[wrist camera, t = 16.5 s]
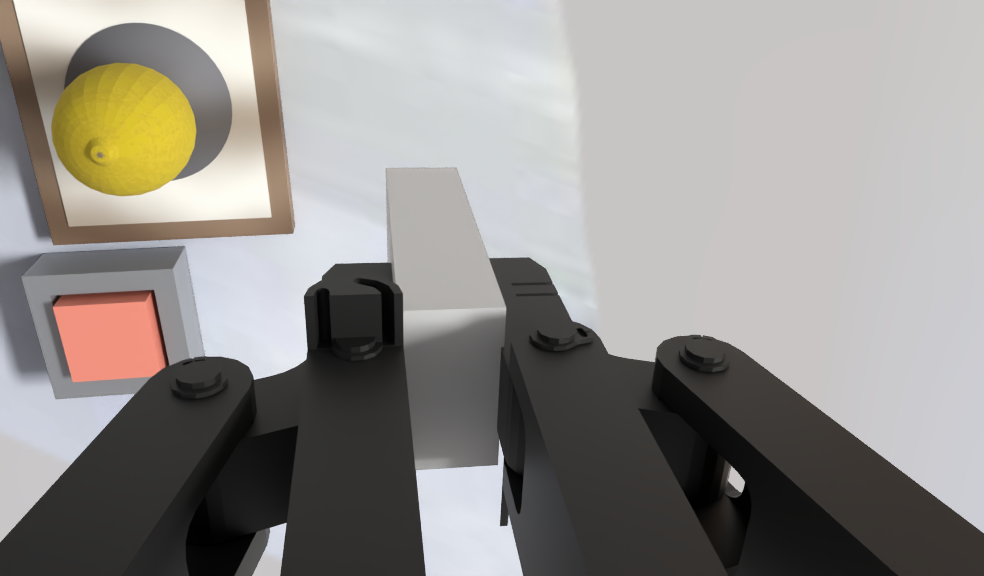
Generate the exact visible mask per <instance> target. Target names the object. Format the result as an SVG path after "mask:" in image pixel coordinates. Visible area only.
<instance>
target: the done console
mask: <svg viewBox="0 0 984 576" xmlns="http://www.w3.org/2000/svg"><path fill="white" fill-rule="evenodd" d="M21 279H22V282H23V286H24V289H25V293H26V296H27V300H28V303H29V307H30V311H31V314H32V318H33V321H34V325H35V328H36V332H37V335H38V339H39V342H40V346H41V349H42V353H43V357H44V360H45V364H46V367H47V371H48V374H49V378H50V381H51V385H52V388H53V392H54V395H55V399H67V398H80V397H94V396H108V395H122V394H135V393H137V392H138V391H139V390H140V388H141V387H142V386H143V385H144V384H145V383H146V382H147V381H148V380H149V379H150V378H151V377H141V378H127V379H113V380H98V381H84V382H73V381H72V377H71V373H70V370H69V366H68V362H67V359H66V355H65V351H64V347H63V344H62V340H61V336H60V332H59V329H58V325H57V321H56V318H55V314H54V310H53V306H54V305H55V303H56V302H57V301H58V300H59V298H60V297H61V296H62V295H69V294H87V293H105V292H123V291H140V290H154V292H155V296H156V301H157V306H158V311H159V316H160V321H161V326H162V331H163V336H164V341H165V346H166V351H167V356H168V362H167V364H166V366H165V367H168V366H170V365H172V364H175V363H177V362H180V361H182V360H185V359H189V358H192V359H193V358H194V357H201V356H205V354H204V349H203V343H202V338H201V332H200V327H199V321H198V315H197V310H196V304H195V299H194V293H193V288H192V282H191V276H190V271H189V265H188V260H187V254H186V248H185V246H183V247H162V248H142V249H122V250H102V251H82V252H62V253H43V254H42V255H41V256H40V258H39V259H38V260H37V261H36V262H35V263H34V264H33V265H32V266H31V267H30V268H29V269H28V270H27V271H26V272H25V273H24V274H23V275H22V276H21Z"/></svg>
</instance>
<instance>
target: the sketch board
mask: <svg viewBox="0 0 984 576" xmlns="http://www.w3.org/2000/svg"><path fill="white" fill-rule="evenodd" d="M0 40H1V44H2V48H3V52H4V56H5V60H6V64H7V67H8V71H9V75H10V79H11V83H12V87H13V91H14V95H15V99H16V102H17V106H18V110H19V114H20V118H21V122H22V126H23V130H24V133H25V137H26V141H27V145H28V149H29V153H30V157H31V161H32V164H33V168H34V172H35V176H36V180H37V184H38V188H39V192H40V195H41V199H42V203H43V207H44V211H45V215H46V219H47V223H48V226H49V230H50V234H51V238H52V242H53V245H68V244H88V243H109V242H129V241H150V240H171V239H191V238H212V237H232V236H253V235H274V234H293V232H294V227H295V222H294V213H293V204H292V195H291V186H290V177H289V168H288V160H287V151H286V142H285V133H284V124H283V115H282V106H281V97H280V88H279V79H278V71H277V62H276V53H275V44H274V35H273V26H272V17H271V8H270V0H0ZM112 63H132V64H138V65H141V66H145V67H148V68H151V69H154V70H155V71H157V72H159V73H161V74H163V75H164V76H166V77H168V78H169V79H170V80H171V81H172V82H173V83H174V84H176V85H177V86H178V87H179V88H180V90H181V91H182V93H183V94H184V95H185V97H186V98H187V100H188V101H189V104H190V106H191V109H192V111H193V114H194V117H195V124H196V138H195V146H194V149H193V152H192V154H191V156H190V159H189V161H188V163H187V165H186V166H185V167H184V168H183V169H182V171H181V172H180V173H179V174H178V175H177V176H176V178H174V179H173V180H171V181H170V182H168V183H167V184H165V185H164V186H162V187H161V188H159V189H157V190H154V191H151V192H148V193H145V194H142V195H134V196H115V195H108V194H104V193H101V192H99V191H96V190H93V189H90V188H89V187H87V186H86V185H84V184H82V183H81V182H79V181H78V180H76V179H75V178H74V177H73V176H72V175H71V174H70V173H69V172H68V171H67V170H66V168H65V167H64V165H63V164H62V162H61V161H60V159H59V158H58V155H57V153H56V150H55V147H54V144H53V142H52V131H51V123H52V118H53V114H54V109H55V106H56V104H57V102H58V101H59V99H60V97H61V95H62V93H63V91H64V90H65V89H66V87H68V86H69V85H70V84H71V83H72V82H73V81H74V80H75V79H76V78H77V77H78V76H79V75H81V74H83V73H85V72H87V71H89V70H91V69H93V68H95V67H97V66H102V65H107V64H112Z"/></svg>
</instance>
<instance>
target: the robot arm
mask: <svg viewBox="0 0 984 576" xmlns="http://www.w3.org/2000/svg"><path fill="white" fill-rule="evenodd" d="M386 201H387V254H388V263H352V264H335V265H334V266H333V267H332V268H331V269H330V270H328V271H327V272H326V273H325V274H324V275H323V276H322V281H319V282H318V283H316V284H314V285H313V286H311V287H310V288H309V289H308V290H307V292H306V294H305V295H304V304H305V318H306V332H307V346H308V351H307V359H306V360H305V361H304V362H303V363H301V364H300V365H298V366H297V367H295V368H293V369H290V370H288V371H286V372H284V373H280V374H277V375H273V376H270V377H265V378H261V379H256V380H254V379H253V375H252V373H251V371H250V369H249V367H248V366H246V365H245V364H243V363H241V362H239V361H238V360H234V359H229V358H224V357H206V356H201V357H194V358H193V359H192V358H189V359H185V360H182V361H180V362H177V363H175V364H172V365H170V366H168V367H165V368H163V369H161V370H160V371H159V372H157V373H156V374H155V375H154V376H152V377H151V378H150V379H149V380H148V381H147V382H146V383H145V384H144V385H143V386H142V387H141V388H140V390H139V391H138V392H137V393H136V394H135V395H134V396H133V397H132V398H131V399H130V401H129V402H128V403H127V404H126V405H125V406H124V407H123V408H122V409H121V410H120V412H119V413H118V414H117V415H116V416H115V417H114V418H113V419H112V420H111V421H110V423H109V424H108V425H107V426H106V427H105V428H104V429H103V430H102V431H101V432H100V434H99V435H98V436H97V437H96V438H95V439H94V440H93V441H92V442H91V443H90V445H89V446H88V447H87V448H86V449H85V450H84V451H83V452H82V453H81V454H80V455H79V457H78V458H77V459H76V460H75V461H74V462H73V463H72V464H71V465H70V466H69V468H68V469H67V470H66V471H65V472H64V473H63V474H62V475H61V476H60V477H59V479H58V480H57V481H56V482H55V483H54V484H53V485H52V486H51V487H50V488H49V490H48V491H47V492H46V493H45V494H44V495H43V496H42V497H41V498H40V500H39V501H38V502H37V503H36V504H35V505H34V506H33V507H32V508H31V509H30V510H29V512H28V513H27V514H26V515H25V516H24V517H23V518H22V519H21V521H20V522H19V523H18V524H17V525H16V526H15V527H14V528H13V529H12V530H11V531H10V532H9V534H8V535H7V536H6V537H5V538H4V539H3V540H2V541H1V542H0V576H252V575H253V573H254V571H255V568H256V567H257V564H258V562H259V560H260V558H261V556H262V554H263V552H264V550H265V548H266V546H267V543H268V538H269V533H270V528H271V527H274V526H277V525H280V524H284V523H287V525H286V533H285V542H284V550H283V558H282V566H281V575H280V576H426V573H425V563H424V553H423V542H422V532H421V521H420V511H419V501H418V490H417V480H416V470H424V469H440V468H457V467H473V466H489V465H498V451H499V439H500V443H501V447H502V451H503V455H504V467H503V484H502V501H501V518H500V526H507V524H508V515H509V516H510V521H511V525H512V529H513V533H514V538H515V542H516V546H517V550H518V555H519V559H520V563H521V568H522V572H523V576H984V533H982V532H981V531H980V530H978V529H977V528H976V527H974V526H973V525H972V524H971V523H969V522H968V521H967V520H965V519H964V518H962V517H961V516H960V515H959V514H957V513H956V512H955V511H953V510H952V509H951V508H949V507H948V506H947V505H945V504H944V503H943V502H941V501H940V500H938V499H937V498H936V497H935V496H933V495H932V494H931V493H929V492H928V491H927V490H925V489H924V488H923V487H921V486H920V485H919V484H918V483H916V482H915V481H913V480H912V479H911V478H910V477H908V476H907V475H905V474H904V473H903V472H902V471H900V470H899V469H898V468H896V467H895V466H894V465H892V464H891V463H890V462H888V461H887V460H886V459H884V458H883V457H882V456H880V455H879V454H878V453H876V452H875V451H874V450H872V449H871V448H870V447H868V446H867V445H866V444H864V443H863V442H862V441H861V440H859V439H858V438H856V437H855V436H854V435H853V434H851V433H850V432H849V431H847V430H846V429H845V428H843V427H842V426H841V425H839V424H838V423H837V422H835V421H834V420H833V419H831V418H830V417H829V416H827V415H826V414H825V413H823V412H822V411H821V410H819V409H818V408H817V407H815V406H814V405H813V404H811V403H810V402H809V401H807V400H806V399H805V398H803V397H802V396H801V395H800V394H798V393H797V392H795V391H794V390H793V389H792V388H790V387H789V386H788V385H786V384H785V383H784V382H782V381H781V380H780V379H778V378H777V377H775V376H774V375H773V374H771V373H770V372H769V371H768V370H766V369H765V368H764V367H762V366H761V365H760V364H758V363H757V362H756V361H754V360H753V359H752V358H750V357H749V356H748V355H746V354H745V353H744V352H742V351H741V350H739V349H737V348H736V347H734V346H732V345H730V344H728V343H726V342H722V341H719V340H716V339H715V338H713V337H709V336H703V337H701V335H690V336H677V337H674V338H671V339H668V340H665V341H663V342H662V343H661V344H660V345H659V346H658V347H657V352H656V358H655V362H649V361H641V360H634V359H627V358H622V357H617V356H613V355H610V354H608V352H607V351H606V348H605V347H604V345H603V343H602V341H601V339H600V338H599V337H598V335H597V334H596V333H595V332H594V331H593V330H592V329H590V328H588V327H586V326H584V325H582V324H580V323H577V322H573V321H572V320H571V318H570V316H569V314H568V312H567V310H566V308H565V306H564V304H563V302H562V300H561V298H560V296H559V295H558V292H557V290H556V288H555V286H554V284H553V285H552V280H551V278H550V276H549V274H548V272H547V270H546V269H545V268H544V267H542V266H541V265H539V264H538V263H536V262H535V261H533V260H532V259H530V258H488V255H487V252H486V249H485V246H484V244H483V241H482V238H481V235H480V232H479V229H478V227H477V224H476V221H475V218H474V215H473V213H472V210H471V207H470V204H469V201H468V199H467V196H466V193H465V190H464V187H463V185H462V182H461V179H460V176H459V173H458V170H457V168H386ZM731 466H732V467H733V468H735V470H736V471H737V472H738V473H739V474H740V476H741V477H742V478H743V479H744V481H745V485H744V489H743V492H742V493H741V492H739V491H738V490H736V489H735V488H734V487H733V486H732V485H731V484H730V483H729V482H728V478H729V473H730V469H731Z"/></svg>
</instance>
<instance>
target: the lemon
mask: <svg viewBox="0 0 984 576" xmlns="http://www.w3.org/2000/svg"><path fill="white" fill-rule="evenodd" d="M51 131H52V142H53V144H54V147H55V150H56V153H57V155H58V158H59V159H60V161H61V162H62V164H63V165H64V167H65V168H66V170H67V171H68V172H69V173H70V174H71V175H72V176H73V177H74V178H75V179H76V180H78V181H79V182H81V183H82V184H84V185H86V186H87V187H89V188H90V189H93V190H96V191H99V192H101V193H104V194H108V195H115V196H134V195H142V194H145V193H148V192H151V191H154V190H157V189H159V188H161V187H162V186H164V185H165V184H167V183H168V182H170V181H171V180H173V179H174V178H176V176H177V175H178V174H179V173H180V172H181V171H182V169H183V168H184V167H185V166H186V165H187V163H188V161H189V159H190V156H191V154H192V152H193V149H194V146H195V138H196V124H195V117H194V114H193V111H192V109H191V106H190V104H189V101H188V100H187V98H186V97H185V95H184V94H183V93H182V91H181V90H180V88H179V87H178V86H177V85H176V84H174V83H173V82H172V81H171V80H170V79H169V78H168V77H166V76H164V75H163V74H161V73H159V72H157V71H155V70H154V69H151V68H148V67H145V66H141V65H138V64H132V63H112V64H107V65H102V66H97V67H95V68H93V69H91V70H89V71H87V72H85V73H83V74H81V75H79V76H78V77H77V78H76V79H75V80H74V81H73V82H72V83H71V84H70V85H69V86H68V87H66V89H65V90H64V91H63V93H62V95H61V97H60V99H59V101H58V102H57V104H56V106H55V109H54V114H53V118H52V123H51Z"/></svg>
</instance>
